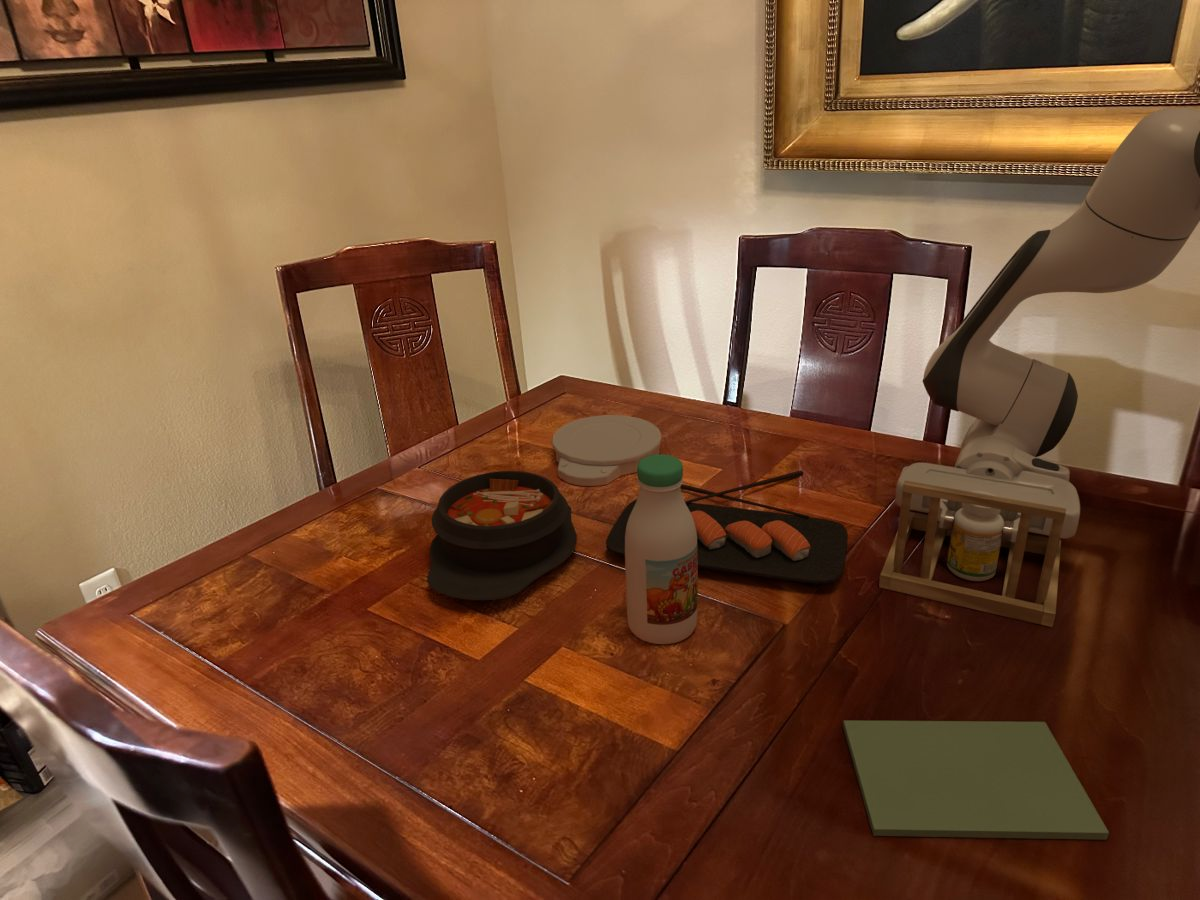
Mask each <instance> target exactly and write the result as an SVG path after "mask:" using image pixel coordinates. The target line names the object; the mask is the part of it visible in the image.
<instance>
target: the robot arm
mask: <svg viewBox="0 0 1200 900" xmlns="http://www.w3.org/2000/svg"><path fill="white" fill-rule="evenodd" d="M1199 223H1200V109H1199V108H1193V107H1186V106H1185V107H1184V106H1183V107H1182V106H1179V107H1178V106H1177V107H1175V106H1174V107H1167V108H1162V109H1158V110H1156V111H1153V112H1151V113H1149V114H1148V115H1146V116H1145V117H1143V118H1142V119H1141V120H1140V121H1139V122H1137V123H1136V125H1134V127H1133V128H1132V129H1131V130H1130V132H1129V133H1128V134H1127V135H1126V137H1125V138H1124V139H1123V140H1122V141H1121V143H1120V144H1119V146H1117V148H1116V149H1115V151H1114V152H1113V154H1112V155H1111V156H1110V158H1109V159H1108V160H1107V162H1106V163H1105V165H1104V167H1102V170H1101V171H1100V173H1099V175H1097V177H1096V179H1095V180H1094V182H1093V184H1092V186H1091V188H1090V189H1089V191H1088V193H1087V194H1086V196H1085V198H1084V200H1083V201H1082V203H1081V204H1080V206H1079V207H1078V209H1077V210H1076V211H1075V212H1073V214H1071V216H1069V217H1068V218H1067V219H1066V220H1065V221H1064V222H1061V223H1060V224H1058V225H1057V226H1055V227H1053V228H1051V229H1044V230H1039V231H1036V232H1034V233H1033V234H1032V235H1031V236H1030V237H1028V238H1027V239H1026V240H1025V242H1023V244H1021V245H1020V246H1019V248H1018V249H1017V250H1016V251H1015V252H1014V254H1012V256H1011V257H1010V258H1009V260H1008V261H1007V262H1006V263H1005V265H1004V266H1003V267H1002V269H1001V270H1000V271H999V272H998V274H997V275H996V276H995V277H994V279H993V280H992V281H991V283H990V284H989V285H988V287H986V289H985V291H984V292H983V293H982V295H980V297H979V299H978V300H977V301H976V302H975V303H974V305H973V306H972V308H971V309H970V310H969V311H968V313H967V314H966V315H965V317H963V319H962V320H961V322H960V323H959V324H958V325H957V327H956V328H955V329H954V330H953V332H952V333H951V334H950V335H949V336H948V337H947V338H945V340H944V341H943V342H941V343H940V344H939V345H938V347H937V348H936V349H935V350H934V351H933V353H932V354H931V356H930V357H929V359H928V361H927V363H926V366H925V369H924V371H923V378H922V384H923V387H924V390H925V391H926V394H927V395H928V397H929V399H930V400H931V402H932V403H933V404H934V405H935V406H939V407H942V408H945V409H948V410H952V411H954V412H957V413H958V412H960V413H963V414H965V415H967V416H970V417H972V418H975V419H974V420H973V422H972V424H971V425H970V426H969V428H968V429H967V431H966V433H965V435H964V438H963V439H962V442H961V445H960V449H959V453H958V455H957V458H956V460H955V463H954V466H948V465H943V464H936V463H931V462H914V463H911V464H910V465H907V466H906V465H905V466H904V467H903V468H902V470H901V472H900V474H899V475H900V476H899V478H898V479H897V481H896V482H897V483H896V485H895V487H896V488H895V496H894V503H895V504H896V505H897V506H898V507H899V508H901V500H902V489H903V483H904V481H911V482H916V483H922V484H928V485H934V486H939V487H945V488H951V489H957V490H962V491H968V492H970V491H984V492H988V493H992V494H994V495H996V496H998V497H1002V498H1008V499H1014V500H1020V501H1025V502H1031V503H1037V504H1043V505H1048V506H1054V507H1060V508H1065V509H1066V514H1065V519H1064V522H1063V527H1062V531H1061V536H1060V539H1064V540H1065V539H1070V538H1073V537H1075V536H1076V533H1077V530H1078V526H1079V523H1080V515H1081V502H1080V496H1079V494H1078V490H1077V488H1076V487H1075V486H1074V485H1073V483H1071V482H1070V477H1071V475H1070V474H1071V471H1070V468H1068V467H1066V466H1063V465H1061V464H1058V463H1054V462H1050V461H1047V460H1045V459H1041V458H1039V457H1041V456H1044V455H1045V454H1047V453H1049V452H1051V451H1052V450H1054V449H1055V448H1056V446H1058V444H1059V443H1060V442H1061V441H1062V439H1063V438H1064V436H1065V435H1066V433H1067V432H1068V430H1069V427H1070V426H1071V423H1072V421H1073V418H1074V416H1075V412H1076V408H1077V404H1078V400H1079V399H1078V398H1079V395H1078V389H1077V386H1076V382H1075V379H1074V377H1073V376H1072V375H1071V373H1070V372H1068V371H1065V370H1063V369H1060V368H1058V367H1056V366H1053V365H1050V364H1048V363H1045V362H1043V361H1040V360H1038V359H1035V358H1030V357H1028V356H1025V355H1023V354H1020V353H1018V352H1014V351H1012V350H1009V349H1007V348H1004V347H1002V346H999V345H997V344H996V343H993V342H992V341H991V339H992V337H994V335H995V334H996V333H997V331H998V330H999V329H1000V327H1002V325H1003V324H1004V323H1005V322H1006V320H1007V319H1008V318H1009V316H1011V314H1012V313H1013V312H1014V310H1015V309H1016V308H1017V307H1018V306H1019V305H1020V304H1021V303H1022V302H1023V301H1025V300H1027V299H1029V298H1032V297H1036V296H1038V295H1043V294H1044V295H1045V294H1055V293H1087V294H1109V293H1117V292H1123V291H1128V290H1130V289H1133V288H1137V287H1140V286H1142V285H1144V284H1147V283H1148V282H1150V281H1152V280H1154V279H1157V277H1158V276H1160V275H1161V274H1162V273H1163V272H1164V271H1165V270H1166V269H1167V267H1169V265H1170V264H1171V263H1172V261H1173V260H1174V259H1175V258H1176V257H1177V256H1178V254H1179V253H1180V252H1181V250H1182V249H1183V247H1184V246H1185V244H1186V243H1187V241H1188V240H1189V239H1190V237H1191V235H1192V234H1193V233H1194V231H1195V229H1196V227H1197V226H1198V225H1199ZM930 500H931V497H929V496H923V495H918V494H912V497H911V505H910V511H915V512H921V513H926V514H929V507H930ZM961 508H963V506H962V502H957V501H951V500H945V499H940V506H939V513H938V521H939V528H943V529H949V530H952V527H953V521H954V516H955V514H956V512H957V511H958V510H959V509H961ZM999 514H1000V515H1001V517H1002V518H1003V520H1004V528H1003V534H1002V539H1001V540H1006V541H1011V542H1015V541H1016V536H1017V531H1018V526H1019V521H1020V516H1021V513H1018V512H1012V511H1006V510H1001V511H1000V513H999ZM1052 521H1053V519H1051V518H1045V517H1040V516H1034V515H1032V516H1031V520H1030V525H1029V530H1028V533H1033V534H1038V535H1043V536H1048V537H1049V535H1050V530H1051V526H1052Z"/></svg>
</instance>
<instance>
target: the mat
mask: <svg viewBox="0 0 1200 900" xmlns="http://www.w3.org/2000/svg"><path fill="white" fill-rule="evenodd" d="M842 728H843V732H844V736H845V740H846V742H847V746H848V750H849V754H850V757H851V761H852V765H853V768H854V772H855V775H856V779H857V783H858V785H859V789H860V793H861V796H862V800H863V804H864V808H865V811H866V814H867V818H868V823H869V826H870V830H871V833H872V836H873V837H914V838H915V837H916V838H917V837H921V838H974V839H975V838H976V839H977V838H980V839H983V838H984V839H1036V840H1037V839H1042V840H1043V839H1044V840H1046V839H1047V840H1093V841H1094V840H1099V841H1101V840H1102V841H1103V840H1104V841H1107V840H1108V839H1109V835H1110V832H1109V829H1108V828H1107V826H1106V825H1105V823H1104V821H1103V820H1102V818H1101V816H1100V815H1099V813H1098V811H1097V809H1096V808H1095V806H1094V804H1093V802H1092V800H1091V798H1090V797H1089V796H1088V793H1087V792H1086V790H1085V788H1084V787H1083V785H1082V783H1081V781H1080V779H1078V776H1077V775H1076V773H1075V771H1074V769H1073V768H1072V766H1071V764H1070V762H1069V761H1068V759H1067V757H1066V756H1065V754H1064V752H1063V751H1062V749H1061V747H1060V745H1059V743H1058V742H1057V740H1056V738H1055V736H1054V735H1053V733H1052V731H1051V729H1050V728H1049V726H1048V724H1047V722H1045V721H998V720H997V721H995V720H994V721H993V720H992V721H991V720H990V721H989V720H988V721H987V720H986V721H985V720H981V721H980V720H979V721H977V720H976V721H975V720H968V721H967V720H860V719H859V720H857V719H856V720H848V719H846V720H843V722H842Z"/></svg>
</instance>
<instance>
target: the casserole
mask: <svg viewBox="0 0 1200 900" xmlns="http://www.w3.org/2000/svg"><path fill="white" fill-rule="evenodd" d="M431 526H432V528H433V531H434V532H435V534H436V535H435V536H434V537H433V539H432V541H431V542H430V548H429V560H430V567H429V569H428V573H427V578H426V582H427V584H428V586H429V588H430V589H432V590H433V591H434V592H437V593H439V594H442V595H445V596H447V597H449V598H450V597H451V598H454V599H460V600H467V601H494V600H499V599H505V598H510V597H512V596H515V595H517V594H519V593H520V592H522V591H523V590H524V589H525V588H527V587H529V585H531V584H532V583H533V582H534V581H535V580H537V579H538V578H540V577H542V576H544V575H545V574H547V573H548V572H550V571H552V570H554V569H556V568H558V567H559V566H560V565H561V564H562V563H564V562H565V561H567V559H568V558H569V557H570V556H571V554H572V553H573V552H574V550H575V548H576V545H577V543H578V534H577V532H576V529H575V526H574V523H573V521H572V508H571V506H570V505H569V503H568V501H567V499H566V498H565V496H564V495H563V494H562V493H560V490H559V488H558V486H557V485H556V484H555V483H554V482H553V481H551V479H549V478H547V477H544V476H542V475H540V474H538V473H533V472H528V471H522V470H521V471H520V470H497V471H492V472H491V471H490V472H485V473H480V474H476V475H473V476H470V477H467V478H465V479H463V480H460V481H458V482H457V483H454V484H453V485H451V486H450V487H449V488H447V489H446V490H445V491H444V492H443V493H442V495H441V496H440V497H439V500H438V502H437V507H436V509H434V511H433V514H432V516H431Z"/></svg>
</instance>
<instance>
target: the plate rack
mask: <svg viewBox="0 0 1200 900" xmlns="http://www.w3.org/2000/svg"><path fill="white" fill-rule="evenodd" d="M912 494H918V495H923V496H929V497H931V500H930V507H929V513H927V514H923V513H917V512H913V511H911V510H910V505H911V497H912ZM940 499H945V500H951V501H957V502H962V503H968V504H973V505H979V506H984V507H990V508H995V509H1001V510H1006V511H1012V512H1018V513H1021V516H1020V521H1019V526H1018V531H1017V536H1016V541H1015V542H1011V541H1006V540H1001V545H1000V548H1007V549H1009V550H1008V556H1007V561H1006V562H1007V563H1006V568H1005V573H1004V580H1003V585H1002V591H1001V595H1000V594H995V593H991V592H986V591H982V590H977V589H972V588H968V587H963V586H959V585H954V584H950V583H945V582H941V581H937V580H933V579H934V576H935V572H936V569H937V566H938V563H939V559H940V556H941V553H942V549H943V545H944V542H945V539H946V537H947V536H948V537H951V534H952V530H949V529H943V528H939V521H938V513H939V506H940ZM899 508H900V509H899V518H898V524H897V526H898V527H897V532H896V534H895V536H894V539H893V541H892V544H891V547H890V549H889V552H888V554H887V557H886V559H885V562H884V564H883V567H882V570H881V572H880V573H879V582H878V588H880V589H884V590H888V591H892V592H898V593H902V594H907V595H909V596H914V597H918V598H923V599H927V600H932V601H936V602H941V603H945V604H949V605H953V606H957V607H962V608H966V609H971V610H974V611H975V610H976V611H979V612H983V613H988V614H993V615H997V616H1002V617H1005V618H1010V619H1015V620H1018V621H1022V622H1027V623H1031V624H1034V625H1035V624H1036V625H1040V626H1045V627H1049V628H1053V627H1054V624H1055V619H1056V615H1057V601H1058V590H1059V589H1058V587H1059V574H1060V560H1061V546H1062V540H1061V538H1060V536H1061V531H1062V527H1063V522H1064V519H1065V514H1066V509H1065V508H1060V507H1054V506H1048V505H1043V504H1037V503H1031V502H1025V501H1020V500H1014V499H1008V498H1002V497H997V496H991V495H985V494H980V493H974V492H968V491H962V490H957V489H951V488H945V487H939V486H934V485H928V484H922V483H916V482H911V481H904V483H903V489H902V500H901V507H899ZM1032 515H1034V516H1040V517H1045V518H1051V519H1053V521H1052V526H1051V530H1050V535H1049V536H1048V537H1044V536H1039V535H1034V534H1029V532H1028V530H1029V525H1030V520H1031V516H1032ZM912 530H915V531H921V532H925V537H924V544H923V550H922V558H921V564H920V571H919V576H915V575H911V574H910V575H909V574H905V573H903V566H904V558H905V551H906V549H905V548H906V546H907V543H908V540H909V537H910V535H911V532H912ZM1025 552H1027V553H1032V554H1037V555H1043V556H1044V558H1043V564H1042V567H1041V573H1040V578H1039V581H1038V587H1037V591H1036V595H1035V599H1034V602H1031V601H1026V600H1022V599H1017V598H1016V595H1017V589H1018V583H1019V580H1020V575H1021V571H1022V570H1021V569H1022V565H1023V559H1024V555H1025Z"/></svg>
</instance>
